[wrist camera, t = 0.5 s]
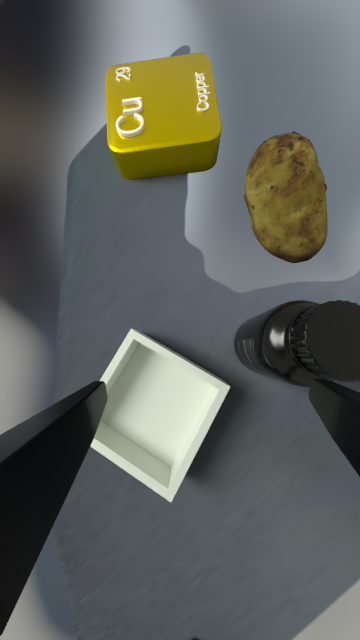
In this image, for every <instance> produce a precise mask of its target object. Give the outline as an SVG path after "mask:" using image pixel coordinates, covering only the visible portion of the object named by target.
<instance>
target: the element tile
mask: <svg viewBox="0 0 360 640" xmlns="http://www.w3.org/2000/svg"><path fill="white" fill-rule="evenodd" d="M105 94H106V116H107V140H108V145H109V148H110V151H111V153H112V156H113V158H114V161H115V163H116V166H117V169H118V171H119V173H120V175H121V176H122V177H123V178H125V179H130V180H133V179H141V178H149V177H156V176H164V175H172V174H179V173H187V172H188V173H196V172H204V171H207V170H209V169H211V168H212V167H213V166H214V165H215V163H216V160H217V155H218V148H219V142H220V135H221V121H220V115H219V109H218V103H217V97H216V92H215V85H214V80H213V73H212V68H211V62H210V60H209V59H208V57H207V56H206V55H205V54H204V53H193V54H186V55H179V56H173V57H166V58H159V59H153V60H146V61H139V62H133V63H126V64H119V65H114V66H111V67H109V68H108V70H107V73H106V75H105Z"/></svg>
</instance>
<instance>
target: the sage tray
mask: <svg viewBox="0 0 360 640" xmlns="http://www.w3.org/2000/svg"><path fill="white" fill-rule="evenodd" d="M100 381H104V382H105V385H106V390H107V396H108V400H107V404H106V406H105V409H104V412H103V415H102V418H101V420H100V423H99V426H98V429H97V431H96V434H95V437H94V439H93V441H92V443H91V447H92V448H94V449H95V450H97V451H98V452H99V453H101V454H102V455H104V456H105V457H107V458H108V459H109V460H111V461H112V462H114V463H115V464H117V465H118V466H119V467H121V468H122V469H124V470H125V471H127V472H128V473H129V474H131V475H132V476H134V477H135V478H137V479H138V480H140V481H141V482H142V483H144V484H145V485H147V486H148V487H150V488H151V489H152V490H154V491H155V492H157V493H158V494H160V495H161V496H162V497H164V498H165V499H167V500H168V501H170V502H172V500H173V498H174V496H175V494H176V492H177V490H178V488H179V486H180V484H181V482H182V480H183V478H184V476H185V474H186V472H187V471H188V469H189V467H190V465H191V463H192V461H193V459H194V457H195V455H196V453H197V451H198V449H199V447H200V445H201V443H202V441H203V439H204V438H205V436H206V434H207V432H208V430H209V428H210V426H211V424H212V422H213V420H214V418H215V416H216V414H217V412H218V410H219V408H220V406H221V404H222V403H223V401H224V399H225V397H226V395H227V393H228V391H229V389H230V386H229V385H228V384H227V383H226V382H225V381H224V380H223V379H221V378H219V377H217V376H216V375H214V374H212V373H211V372H209V371H207V370H205V369H204V368H202V367H200V366H199V365H197V364H195V363H194V362H192V361H190V360H188V359H187V358H185V357H183V356H182V355H180V354H178V353H176V352H175V351H173V350H171V349H170V348H168V347H166V346H164V345H163V344H161V343H159V342H158V341H156V340H154V339H152V338H151V337H149V336H147V335H146V334H144V333H142V332H140V331H137V330H134V329H131V330H130V332H129V333H128V335H127V337H126V338H125V340H124V342H123V343H122V345H121V347H120V348H119V350H118V351H117V353H116V355H115V356H114V358H113V360H112V361H111V363H110V365H109V366H108V368H107V370H106V371H105V373H104V375H103V376H102V378H101V379H100Z"/></svg>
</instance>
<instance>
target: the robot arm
mask: <svg viewBox="0 0 360 640" xmlns="http://www.w3.org/2000/svg"><path fill="white" fill-rule="evenodd" d="M309 399H310V402H311V403H312V405H313V407H314V408H315V410H316V412H317V413H318V415H319V417H320V418H321V420H322V422H323V423H324V425H325V427H326V429H327V430H328V432H329V433H330V435H331V437H332V438H333V440H334V441H335V443H336V444H337V445H338V447H339V448H340V450H341V451H342V452H343V454H344V455H345V457H346V458H347V460H348V461H349V462H350V464H351V465H352V467H353V468H354V469H355V471H356V472H357V474H358V475H359V476H360V393H359V392H356V391H354V390H351V389H349V388H347V387H344V386H342V385H339V384H337V383H334V382H332V381H329V380H327V379H323V378H315V379H313V380H312V381H311V386H310V390H309ZM107 400H108V396H107V390H106V385H105V382H104V381H94V382H92V383H90V384H89V385H87V386H85V387H83V388H82V389H80V390H78V391H76V392H75V393H73V394H71V395H69V396H68V397H66V398H64V399H62V400H61V401H59V402H57V403H55V404H54V405H52V406H50V407H48V408H47V409H45V410H43V411H41V412H40V413H38V414H36V415H34V416H33V417H31V418H29V419H27V420H26V421H24V422H22V423H20V424H18V425H17V426H15V427H14V428H12V429H10V430H8V431H6V432H5V433H3V434H1V435H0V636H1V635H2V633H3V631H4V629H5V627H6V625H7V622H8V620H9V618H10V616H11V614H12V612H13V610H14V608H15V605H16V603H17V601H18V599H19V597H20V595H21V593H22V590H23V588H24V586H25V584H26V582H27V580H28V577H29V576H30V573H31V571H32V569H33V567H34V565H35V563H36V561H37V559H38V556H39V554H40V552H41V550H42V548H43V546H44V543H45V541H46V539H47V537H48V535H49V533H50V531H51V529H52V527H53V524H54V522H55V520H56V518H57V516H58V514H59V512H60V510H61V507H62V505H63V503H64V501H65V499H66V497H67V495H68V492H69V490H70V488H71V486H72V484H73V482H74V480H75V478H76V475H77V473H78V471H79V469H80V467H81V465H82V463H83V461H84V458H85V456H86V454H87V452H88V450H89V448H90V446H91V443H92V441H93V439H94V437H95V434H96V431H97V429H98V426H99V423H100V420H101V418H102V415H103V412H104V409H105V406H106V404H107Z"/></svg>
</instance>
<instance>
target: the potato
mask: <svg viewBox="0 0 360 640" xmlns="http://www.w3.org/2000/svg"><path fill="white" fill-rule="evenodd" d="M326 189H327V186H326V184H325V183H324V175H323V173H322V171H321V169H320V167H319V165H318V160H317V154H316V151H315V149H314V147H313V145H312V143H311V142H310V140H309V139H307V138H306V137H304V136H301V135H300V134H298V133H296V132H292V133H285V134H281V135H276V136H273V137H270V138H269V139H267V140H266V141H264V142H263V143H262V144H261V145H260V146H259V147H258V148H257V150H256V151H255V153H254V155H253V157H252V159H251V161H250V164H249V167H248V169H247V174H246V179H245V196H244V198H245V201H246V205H247V208H248V211H249V213H250V216H251V220H252V229H253V232H254V234H255V236H256V238H257V239H258V241H259V242H260V244H261V245H262V246H263V247H264V248H265V249H266V250H267V251H268V252H269V253H271V254H272V255H274V256H276V257H278V258H281V259H283V260H285V261H287V262H291V263H298V262H302V261H307V260H309V259H311V258H312V257H313V256H314V255H316V254H317V253H318V252H319V250H320V249H321V248H322V246H323V245H324V243H325V240H326V236H327V209H326V194H325V191H326Z"/></svg>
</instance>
